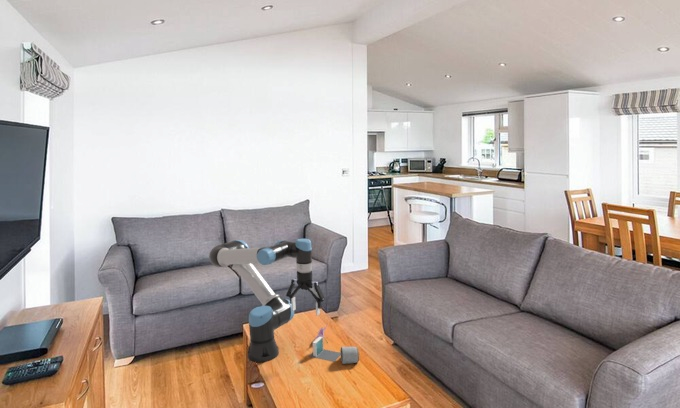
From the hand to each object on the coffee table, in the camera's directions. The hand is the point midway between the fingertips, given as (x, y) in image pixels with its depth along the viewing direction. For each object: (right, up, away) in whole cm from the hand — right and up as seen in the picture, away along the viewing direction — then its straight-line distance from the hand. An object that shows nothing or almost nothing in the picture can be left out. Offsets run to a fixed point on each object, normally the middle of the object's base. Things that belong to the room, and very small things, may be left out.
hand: (305, 312), depth 209 cm
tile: (+6, -20, 0) cm, 21 cm away
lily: (+7, -19, +12) cm, 24 cm away
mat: (+10, -21, -2) cm, 23 cm away
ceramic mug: (+21, -21, -8) cm, 31 cm away
